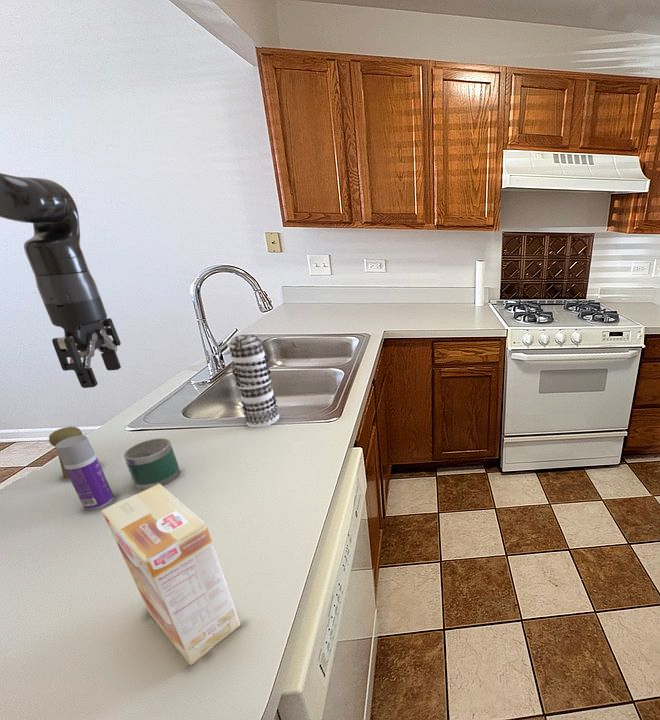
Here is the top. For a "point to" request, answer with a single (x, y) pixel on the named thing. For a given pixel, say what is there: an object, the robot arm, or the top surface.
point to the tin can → (152, 463)
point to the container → (85, 472)
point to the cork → (62, 435)
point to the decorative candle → (253, 380)
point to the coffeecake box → (174, 569)
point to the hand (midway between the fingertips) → (102, 377)
